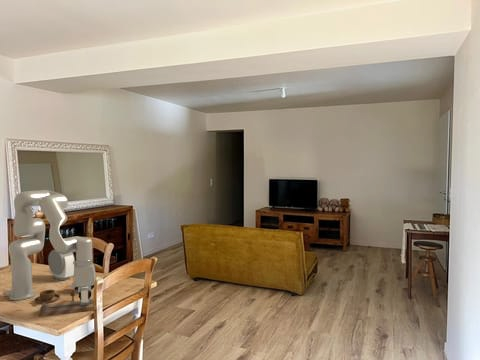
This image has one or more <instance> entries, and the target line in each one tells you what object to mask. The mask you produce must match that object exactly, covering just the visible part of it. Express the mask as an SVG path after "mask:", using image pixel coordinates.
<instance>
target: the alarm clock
mask: <svg viewBox="0 0 480 360" xmlns="http://www.w3.org/2000/svg"><path fill="white" fill-rule="evenodd" d="M47 257H48V258H47V262H48V267H49V274H50V275H52V279H55V278H56V279H55V280H59V281H66V279H67V280H70V279H71V277H72V276H74V268H75V264H73V261H76V258H75V255H74V252H71V253H68V254H63V255H62V254H59V253H58V252H56V250H55V249H52V250H51V251H50V252H49V253H48V256H47Z"/></svg>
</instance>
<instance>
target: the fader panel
mask: <svg viewBox="0 0 480 360" xmlns="http://www.w3.org/2000/svg"><path fill="white" fill-rule="evenodd" d="M94 299H95V298H90V302H89V305H85V306H80V302H81V300H76V301H75V300H74V301H67V302H66V301H64V302H57V303H56V302H55V303H48V304H45V303H43V304H41V306H40V308H39V309H40V311H38V312H39V313H38V316H39V317H41V318H42V317H48V316H49V317H50V316H57V315H64V314H65V315H66V314H67V315H68V314H73V313H75V314H76V313H81V312H82V313H83V312H90V311H91V312H92V311H95V310H94Z"/></svg>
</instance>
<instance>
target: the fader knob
mask: <svg viewBox="0 0 480 360" xmlns="http://www.w3.org/2000/svg"><path fill="white" fill-rule="evenodd" d="M88 290H89V287H83V288H82V290H81V300H80V301H81V302H80V306H85V305H89V302H90V300H91V298H90V299H88Z"/></svg>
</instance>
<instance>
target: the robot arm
mask: <svg viewBox="0 0 480 360" xmlns="http://www.w3.org/2000/svg"><path fill="white" fill-rule="evenodd" d="M68 204H69V200H68V198H67V196H66V195H64V194H63V193H60V192H56V191H54V190H53V191H52V190H49V189H42V190H28V191H21V192H18V193H17V194H16V195H15V197H14V199H13V207H14V217H13V220H14V221H13V235H14V236H15V237H16V238H19V239H16V240H14V241H12V242H11V243H10V244H9V245H8V254H9V258H10V267H11V271H10V273H11V289H8V290H7V289H6V290H5V289H4V290H3V291H2V294H3V295H4V296H7V295H9V296H8V300H10V301H23V300H28V299H30V298H33V297H35V296H36V294H37V293H36V291H35V290H33V266H32V265H33V263H32V261H31V259H30V258H29V257H28V256H30V255H34V254H38V253H40V252H41V251H42V250H43V248H44V247H45V246H44V245H45V236H46V223H45V221H44V220H43V219H42V218H41V217H40V218H39V217H34V212H33V209H32V207H40V209H41V211H42V212H43V214H44V217H45V218H46V219H47V221H48V223H49V225H50V227H49V230H48V231H49V233H48V237H49V241H50V243H51V246H52V248H53V250H56V252H58V253H59V254H62V255H63V254H68V253H71V252H73V253H76V254H75V261H73V264H74V275H73V277H72V278H73V281H72V282H71V285H70V288H71V289H72V290H73V289H75V291H76V290H77V291H78V292H77V293H78V299H79V301H81V287H83V286H88V287H89V290H88V299H90V300H91V297H92V290H94V289H95V288H94V282H95V279H97V277H96V276H97V275H96V268H95V264H93V262H94V259H93V239H92V238H89V237H82V236H78V235H77V236H70V237H65V238H63V236H62V234H61V231H60V227H61V226H63V225H64V224H65V223H66V222H67V221H68V217H67V215H66V213H65V211H64V210H65V209H66V208H68V206H69V205H68ZM20 238H21V239H20ZM93 288H94V289H93Z"/></svg>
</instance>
